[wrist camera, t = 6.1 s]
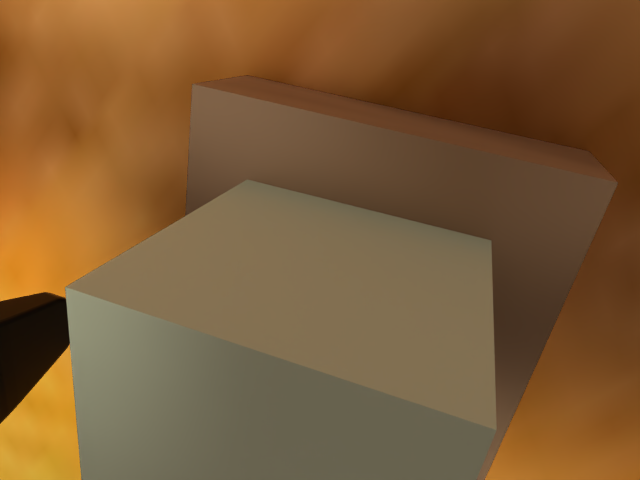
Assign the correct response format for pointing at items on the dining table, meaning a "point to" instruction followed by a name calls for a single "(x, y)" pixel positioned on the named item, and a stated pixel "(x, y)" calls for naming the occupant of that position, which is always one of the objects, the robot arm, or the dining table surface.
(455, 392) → the cube
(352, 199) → the base
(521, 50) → the dining table surface
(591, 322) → the dining table surface
